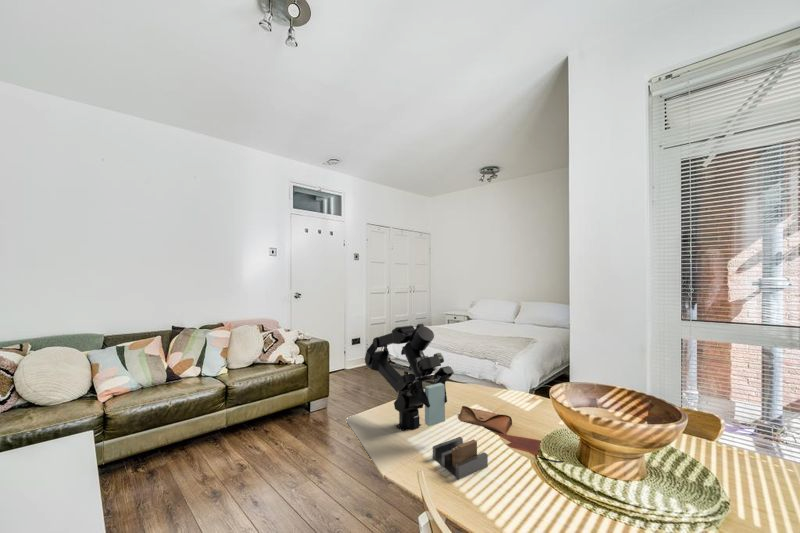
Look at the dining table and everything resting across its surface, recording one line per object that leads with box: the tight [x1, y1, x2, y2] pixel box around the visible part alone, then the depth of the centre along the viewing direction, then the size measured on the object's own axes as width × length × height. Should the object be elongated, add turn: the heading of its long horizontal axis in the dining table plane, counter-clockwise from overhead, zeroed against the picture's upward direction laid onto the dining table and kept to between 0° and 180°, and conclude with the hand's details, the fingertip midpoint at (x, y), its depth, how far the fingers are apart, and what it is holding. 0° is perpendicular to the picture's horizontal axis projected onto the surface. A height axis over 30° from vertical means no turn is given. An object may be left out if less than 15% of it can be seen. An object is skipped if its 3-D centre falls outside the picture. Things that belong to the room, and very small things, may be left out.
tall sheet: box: [424, 383, 446, 427], centre depth 96 cm, size 2×6×11 cm, turn 121°
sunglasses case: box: [458, 405, 513, 435], centre depth 111 cm, size 18×7×7 cm
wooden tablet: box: [494, 432, 542, 458], centre depth 97 cm, size 27×10×2 cm, turn 65°
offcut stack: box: [452, 439, 478, 469], centre depth 85 cm, size 4×6×6 cm, turn 121°
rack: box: [432, 436, 489, 480], centre depth 87 cm, size 11×10×4 cm
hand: (437, 404), depth 95 cm, fingers closed on tall sheet, 6 cm apart
